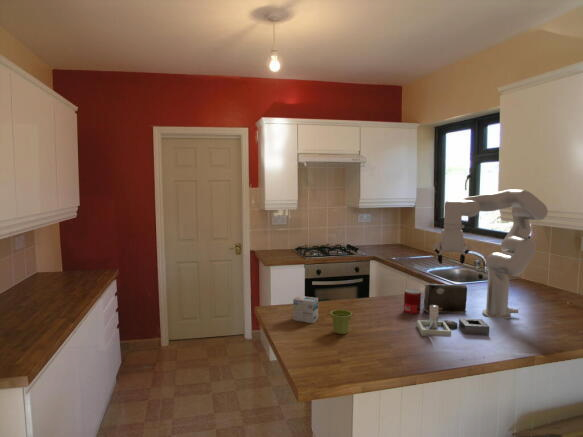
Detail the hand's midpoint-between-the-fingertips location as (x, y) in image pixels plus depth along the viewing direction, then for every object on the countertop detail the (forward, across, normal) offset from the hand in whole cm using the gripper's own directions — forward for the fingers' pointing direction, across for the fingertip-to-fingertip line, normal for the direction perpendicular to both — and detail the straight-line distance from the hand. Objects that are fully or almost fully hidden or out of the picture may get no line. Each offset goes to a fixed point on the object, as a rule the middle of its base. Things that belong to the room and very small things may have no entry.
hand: (451, 263), depth 188 cm
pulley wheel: (+28, +2, +9) cm, 30 cm away
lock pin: (+28, +10, +14) cm, 33 cm away
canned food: (+28, +15, -12) cm, 34 cm away
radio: (+29, -2, -16) cm, 33 cm away
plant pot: (+28, +51, +20) cm, 62 cm away
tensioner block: (+28, -7, +14) cm, 32 cm away
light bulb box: (+28, +68, +7) cm, 74 cm away
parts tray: (+28, +10, +14) cm, 33 cm away
